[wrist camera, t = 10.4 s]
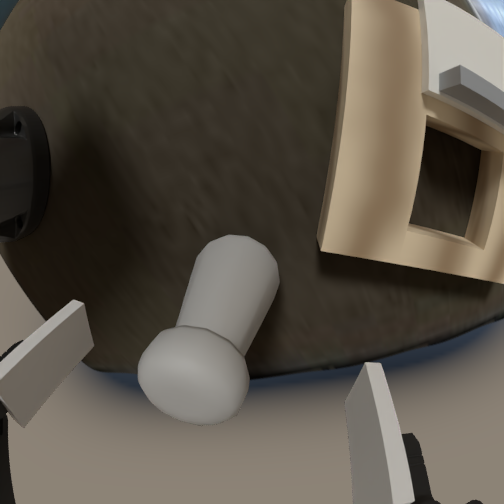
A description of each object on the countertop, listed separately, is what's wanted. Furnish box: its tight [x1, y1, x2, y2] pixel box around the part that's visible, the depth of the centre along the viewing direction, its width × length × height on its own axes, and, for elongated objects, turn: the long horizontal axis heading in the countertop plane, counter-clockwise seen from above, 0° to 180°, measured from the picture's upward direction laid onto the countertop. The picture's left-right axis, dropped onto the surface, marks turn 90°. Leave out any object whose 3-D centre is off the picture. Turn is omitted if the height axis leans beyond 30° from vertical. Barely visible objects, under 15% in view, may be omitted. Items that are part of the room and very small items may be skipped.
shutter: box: [418, 0, 504, 135], centre depth 8 cm, size 8×8×4 cm
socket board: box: [316, 0, 504, 284], centre depth 14 cm, size 18×18×3 cm
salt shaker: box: [138, 235, 280, 425], centre depth 14 cm, size 6×6×13 cm
